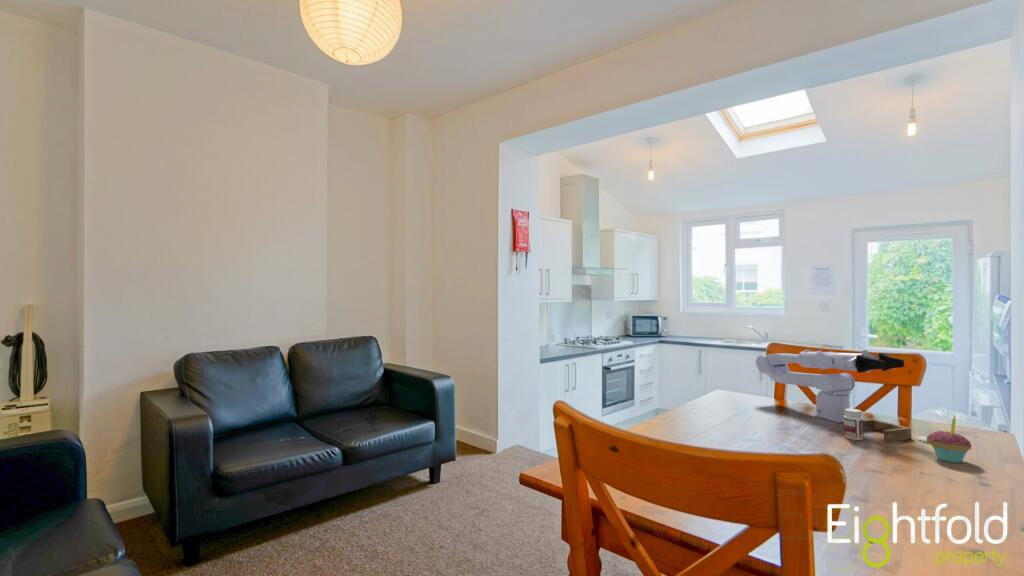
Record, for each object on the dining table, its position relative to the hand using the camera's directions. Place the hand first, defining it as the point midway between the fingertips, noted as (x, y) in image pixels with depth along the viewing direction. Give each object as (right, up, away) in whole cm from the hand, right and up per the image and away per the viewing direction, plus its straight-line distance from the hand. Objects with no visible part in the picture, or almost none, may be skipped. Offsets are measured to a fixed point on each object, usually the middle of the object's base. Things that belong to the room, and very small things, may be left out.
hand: (893, 364), depth 143 cm
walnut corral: (-4, -22, +1) cm, 22 cm away
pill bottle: (-14, -22, -2) cm, 26 cm away
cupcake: (-2, -22, -21) cm, 30 cm away
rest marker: (+6, -22, -6) cm, 23 cm away
